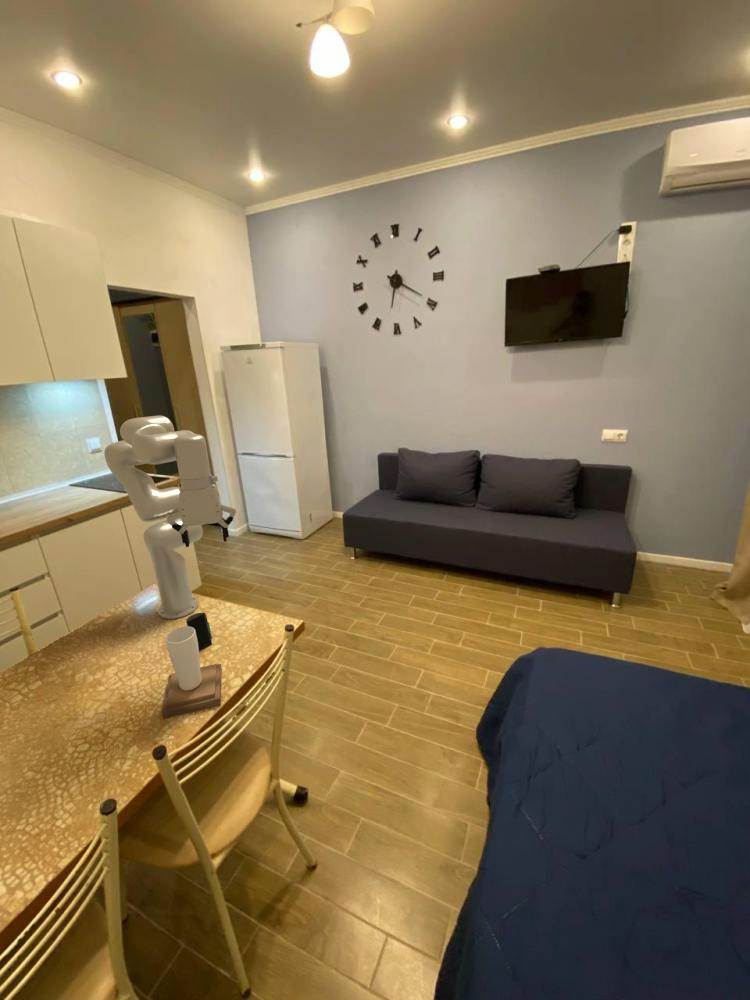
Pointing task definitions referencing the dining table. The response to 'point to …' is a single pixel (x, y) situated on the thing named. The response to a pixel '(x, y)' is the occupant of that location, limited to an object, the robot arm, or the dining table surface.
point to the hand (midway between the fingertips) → (206, 542)
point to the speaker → (200, 629)
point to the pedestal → (193, 693)
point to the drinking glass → (185, 656)
